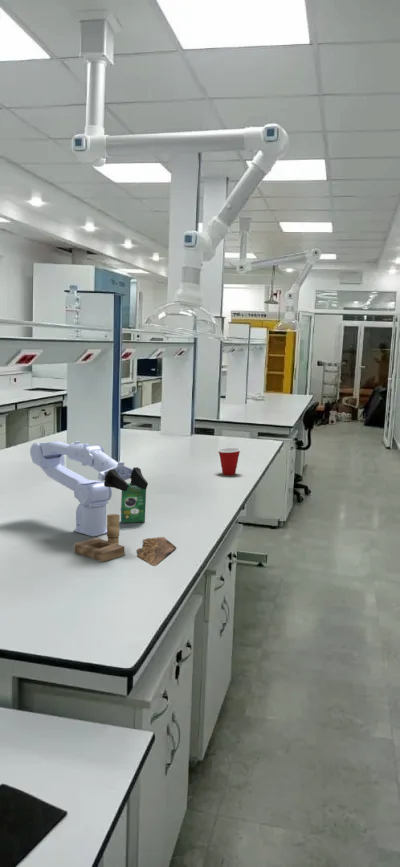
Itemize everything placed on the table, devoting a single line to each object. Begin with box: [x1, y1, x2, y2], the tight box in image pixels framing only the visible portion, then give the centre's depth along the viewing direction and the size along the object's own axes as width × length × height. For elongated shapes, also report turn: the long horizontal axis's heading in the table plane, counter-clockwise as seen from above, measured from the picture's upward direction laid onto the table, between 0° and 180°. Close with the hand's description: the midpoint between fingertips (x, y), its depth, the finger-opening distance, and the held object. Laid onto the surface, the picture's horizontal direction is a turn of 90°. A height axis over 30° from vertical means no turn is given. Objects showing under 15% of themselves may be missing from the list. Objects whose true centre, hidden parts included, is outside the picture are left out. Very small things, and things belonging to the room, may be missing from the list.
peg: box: [106, 513, 120, 545], centre depth 191 cm, size 4×4×9 cm
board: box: [74, 537, 125, 563], centre depth 184 cm, size 12×8×2 cm, turn 50°
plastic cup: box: [217, 447, 242, 476], centre depth 301 cm, size 11×11×12 cm
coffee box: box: [120, 482, 147, 524], centre depth 217 cm, size 8×3×13 cm, turn 104°
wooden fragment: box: [136, 536, 177, 567], centre depth 188 cm, size 26×11×1 cm, turn 175°
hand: (136, 487), depth 188 cm, fingers open, 7 cm apart
